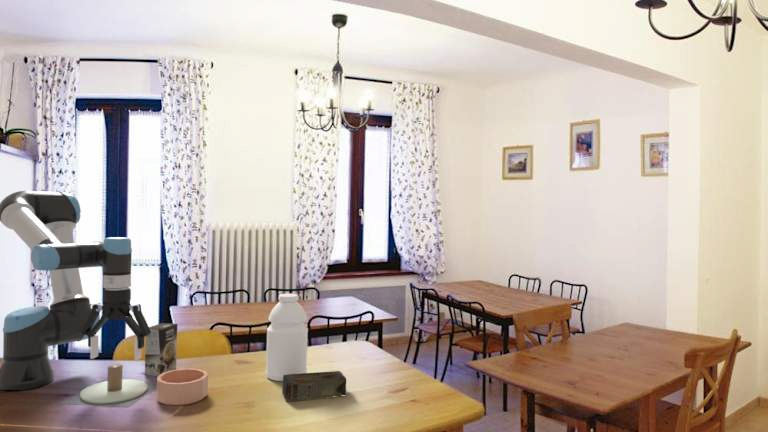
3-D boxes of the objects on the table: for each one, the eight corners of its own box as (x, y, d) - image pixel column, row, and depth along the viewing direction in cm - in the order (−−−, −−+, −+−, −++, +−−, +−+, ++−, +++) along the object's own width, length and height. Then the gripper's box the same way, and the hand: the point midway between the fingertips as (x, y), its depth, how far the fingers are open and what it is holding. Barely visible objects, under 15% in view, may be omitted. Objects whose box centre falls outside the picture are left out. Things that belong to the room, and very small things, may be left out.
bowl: (147, 405, 148) (148, 382, 147) (170, 387, 162) (170, 367, 162) (195, 407, 147) (195, 385, 147) (213, 390, 161) (214, 369, 161)
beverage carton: (346, 397, 159) (347, 376, 159) (285, 403, 153) (285, 381, 153) (340, 388, 167) (340, 368, 167) (280, 394, 160) (281, 373, 160)
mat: (60, 404, 146) (60, 403, 146) (102, 381, 166) (102, 379, 166) (128, 408, 145) (128, 407, 145) (162, 384, 165) (162, 382, 165)
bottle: (259, 380, 171) (261, 297, 171) (274, 367, 185) (276, 290, 184) (299, 383, 169) (301, 299, 169) (311, 370, 183) (314, 292, 182)
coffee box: (160, 377, 171) (162, 329, 171) (143, 375, 172) (145, 327, 172) (177, 369, 180) (178, 323, 180) (160, 367, 181) (161, 322, 181)
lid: (66, 402, 147) (66, 374, 147) (103, 381, 165) (103, 356, 165) (127, 405, 146) (127, 377, 146) (158, 383, 164) (158, 358, 164)
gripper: (68, 289, 151) (67, 360, 152) (150, 291, 150) (149, 363, 150) (84, 285, 159) (84, 353, 159) (163, 287, 158) (162, 356, 158)
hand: (116, 358), depth 155 cm, fingers open, 13 cm apart
